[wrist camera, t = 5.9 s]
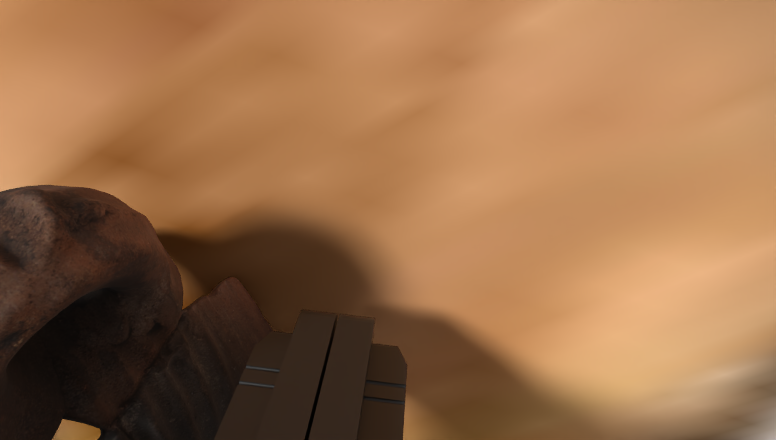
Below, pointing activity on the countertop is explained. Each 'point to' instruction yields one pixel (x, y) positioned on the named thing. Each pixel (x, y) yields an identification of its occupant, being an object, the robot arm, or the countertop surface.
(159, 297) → the pottery mug
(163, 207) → the countertop surface
